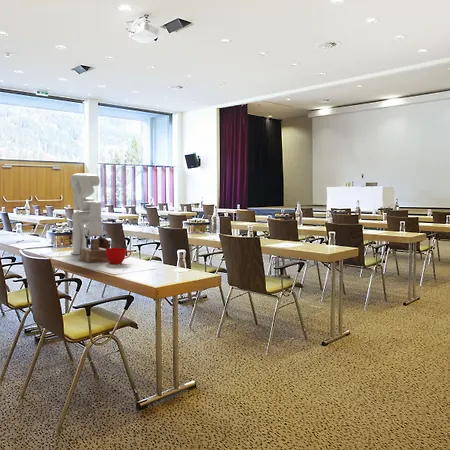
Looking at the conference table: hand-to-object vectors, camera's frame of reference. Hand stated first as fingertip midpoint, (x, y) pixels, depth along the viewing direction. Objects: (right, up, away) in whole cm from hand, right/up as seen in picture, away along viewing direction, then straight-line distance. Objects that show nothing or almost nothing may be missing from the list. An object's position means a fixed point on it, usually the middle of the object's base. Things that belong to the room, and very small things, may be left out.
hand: (94, 244), depth 320 cm
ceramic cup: (+18, -13, -7) cm, 23 cm away
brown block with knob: (0, -11, +1) cm, 11 cm away
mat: (0, -11, +1) cm, 11 cm away
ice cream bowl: (0, -10, +21) cm, 23 cm away
